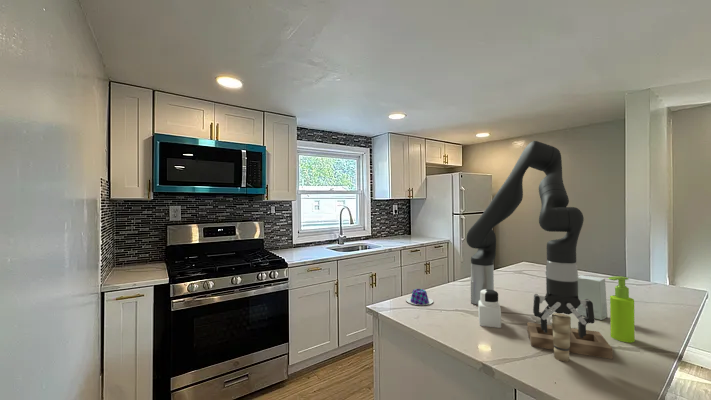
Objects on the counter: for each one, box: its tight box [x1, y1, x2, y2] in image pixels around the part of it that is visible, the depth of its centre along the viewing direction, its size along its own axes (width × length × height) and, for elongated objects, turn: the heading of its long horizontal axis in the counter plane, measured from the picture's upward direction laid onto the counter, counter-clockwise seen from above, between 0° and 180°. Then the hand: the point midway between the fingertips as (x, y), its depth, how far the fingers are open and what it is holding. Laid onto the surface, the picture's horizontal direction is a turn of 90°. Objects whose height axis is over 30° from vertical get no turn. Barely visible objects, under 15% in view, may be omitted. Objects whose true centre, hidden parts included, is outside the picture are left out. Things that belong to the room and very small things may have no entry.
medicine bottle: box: [477, 289, 502, 329], centre depth 112 cm, size 7×7×12 cm
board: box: [526, 321, 614, 360], centre depth 96 cm, size 20×12×3 cm, turn 66°
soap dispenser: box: [607, 275, 636, 344], centre depth 99 cm, size 6×7×20 cm
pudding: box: [405, 288, 434, 306], centre depth 137 cm, size 12×12×5 cm
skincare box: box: [576, 274, 608, 321], centre depth 119 cm, size 8×6×15 cm
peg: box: [551, 312, 572, 363], centre depth 87 cm, size 4×4×12 cm
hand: (562, 334), depth 87 cm, fingers open, 8 cm apart
